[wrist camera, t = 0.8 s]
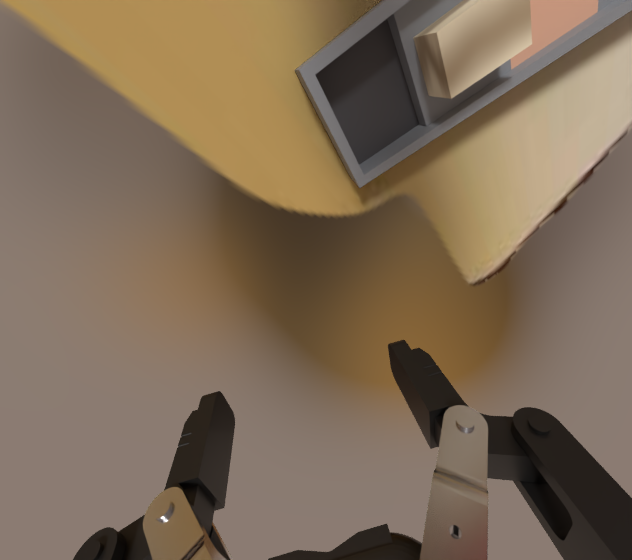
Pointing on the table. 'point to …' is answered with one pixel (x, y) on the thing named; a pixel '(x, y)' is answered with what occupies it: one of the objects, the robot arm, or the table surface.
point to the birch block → (471, 43)
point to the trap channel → (408, 81)
